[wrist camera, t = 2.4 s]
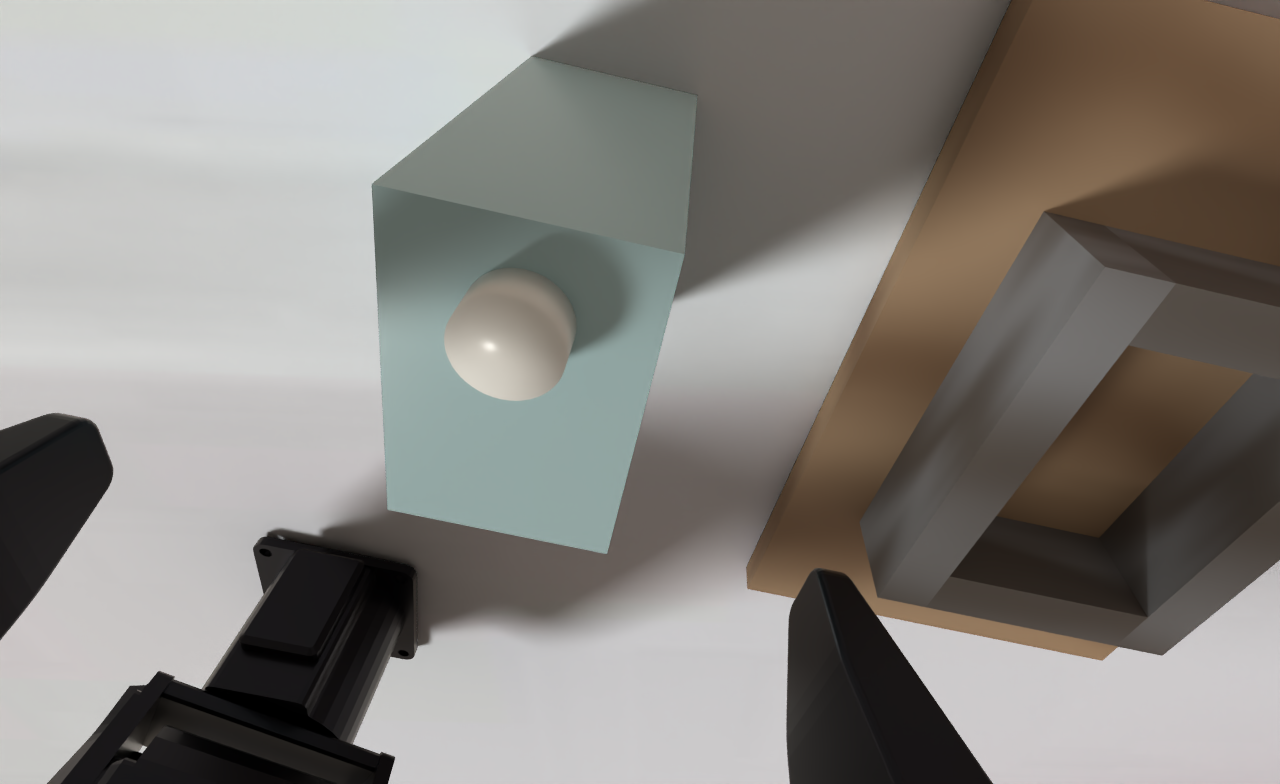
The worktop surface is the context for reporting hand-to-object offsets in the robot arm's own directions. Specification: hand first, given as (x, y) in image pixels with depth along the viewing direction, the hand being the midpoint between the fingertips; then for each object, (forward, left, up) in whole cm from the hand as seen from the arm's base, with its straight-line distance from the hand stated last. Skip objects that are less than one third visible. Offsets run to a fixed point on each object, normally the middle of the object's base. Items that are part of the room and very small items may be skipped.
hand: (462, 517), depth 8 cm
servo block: (0, 0, -11) cm, 11 cm away
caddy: (-3, -15, -11) cm, 19 cm away
